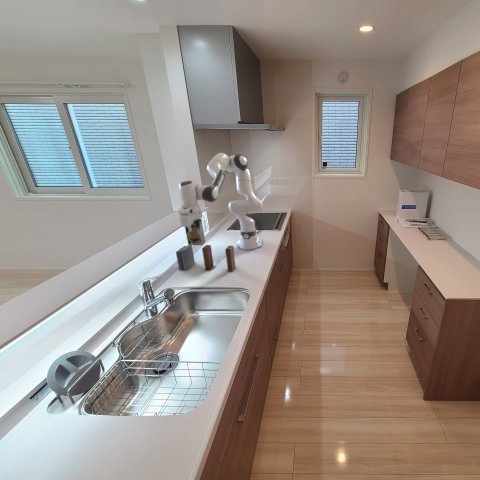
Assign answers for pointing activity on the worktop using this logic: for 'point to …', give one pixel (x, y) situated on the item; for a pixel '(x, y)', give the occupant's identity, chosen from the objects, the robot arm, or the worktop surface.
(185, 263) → the grey books
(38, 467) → the worktop surface
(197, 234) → the coffee box
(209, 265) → the brown wooden bookends
